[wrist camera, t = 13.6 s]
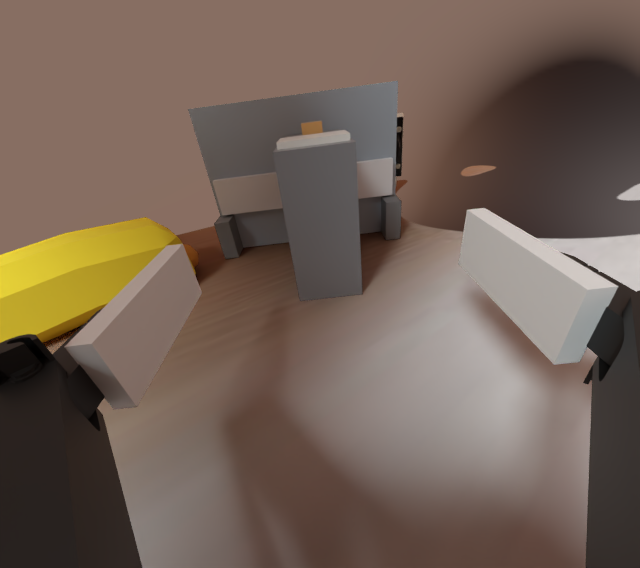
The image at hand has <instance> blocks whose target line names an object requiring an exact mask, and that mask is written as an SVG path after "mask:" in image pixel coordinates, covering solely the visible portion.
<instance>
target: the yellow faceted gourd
mask: <svg viewBox="0 0 640 568" xmlns="http://www.w3.org/2000/svg"><path fill="white" fill-rule="evenodd" d="M177 244H183V243H182V242H181V240H180V239H179V238H178V237H177V236H176V235H175V234H174V233H172V232H171V231H170V230H169V229H168V228H166V227H164V226H162V225H160V224H158V223H156V222H154V221H152V220H150V219H148V218H146V217H144V218H139V219H134V220H129V221H124V222H119V223H114V224H109V225H104V226H99V227H94V228H88V229H83V230H79V231H74V232H68V233H64V234H61V235H58V236H55V237H52V238H49V239H46V240H43V241H40V242H37V243H35V244H31V245H28V246H26V247H23V248H20V249H17V250H14V251H11V252H8V253H5V254H2V255H0V343H1V342H3V341H6V340H8V339H11V338H14V337H17V336H20V335H26V334H34V335H36V336H37V337H38V338H39V339H40V341H41V342H42V343H44V342H46V341H48V340H51V339H53V338H55V337H58V336H60V335H62V334H64V333H66V332H69V331H71V330H73V329H75V328H77V327H79V326H81V325H83V324H84V323H87V321H88V320H89V319H90V318H91V317H92V316H93V315H94V314H95V313H96V312H97V311H98V310H100V309H102V308H103V307H105V306H106V305H107V304H108V303H109V302H110V301H111V300H112V299H113V298H114V297H115V296H116V295H117V294H118V293H119V292H120V291H121V290H122V289H123V288H124V287H125V286H126V285H127V284H128V283H129V282H130V281H131V280H132V279H133V278H134V277H135V276H136V275H137V274H138V273H140V272H141V271H142V270H143V269H144V268H145V267H146V266H147V265H148V264H149V263H150V262H151V261H152V260H153V259H154V258H155V257H156V256H157V255H158V254H159V253H160V252H161V251H162V250H163V249H164V248H165V247H166V246H168V245H177ZM183 246H184V248H185V251H186V253H187V256H188V258H189V261H190V263H191V266H192V268H193V271H194V274H196V272H195V269H194V267H196V266H197V265H198V252H197V251H196V250H194V249H193V248H192V247H191V246H190V245H183Z"/></svg>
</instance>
